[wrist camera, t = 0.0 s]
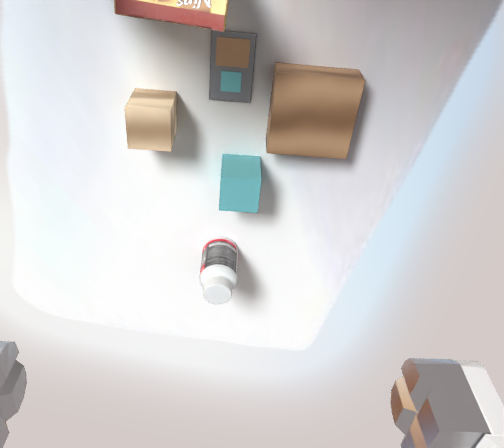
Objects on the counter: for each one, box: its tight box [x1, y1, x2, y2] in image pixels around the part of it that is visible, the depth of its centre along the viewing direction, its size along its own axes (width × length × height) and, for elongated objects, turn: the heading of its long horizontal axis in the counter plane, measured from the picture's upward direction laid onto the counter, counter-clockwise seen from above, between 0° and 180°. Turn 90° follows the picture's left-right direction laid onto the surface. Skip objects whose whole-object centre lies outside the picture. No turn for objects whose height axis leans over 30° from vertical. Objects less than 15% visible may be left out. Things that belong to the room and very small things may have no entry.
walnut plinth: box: [266, 62, 365, 159], centre depth 55 cm, size 10×10×4 cm
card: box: [209, 30, 256, 103], centre depth 53 cm, size 8×5×1 cm, turn 175°
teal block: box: [219, 154, 261, 213], centre depth 60 cm, size 5×5×6 cm
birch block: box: [125, 88, 177, 152], centre depth 54 cm, size 5×5×6 cm
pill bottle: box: [200, 236, 238, 304], centre depth 66 cm, size 5×5×10 cm
